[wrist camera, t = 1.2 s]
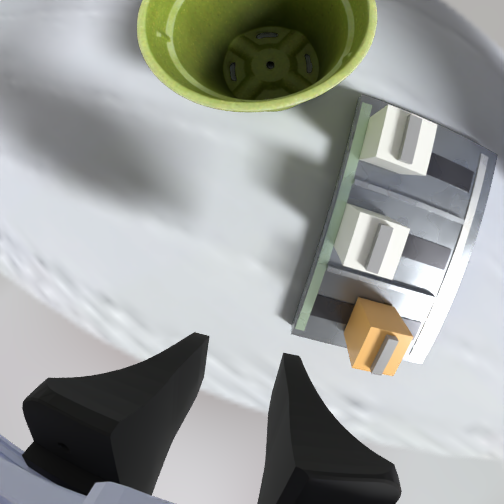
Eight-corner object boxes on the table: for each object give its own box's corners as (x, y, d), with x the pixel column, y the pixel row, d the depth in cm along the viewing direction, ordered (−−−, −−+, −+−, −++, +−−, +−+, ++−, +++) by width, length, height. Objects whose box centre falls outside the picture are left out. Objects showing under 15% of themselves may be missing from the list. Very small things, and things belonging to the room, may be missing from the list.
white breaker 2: (387, 216, 17) (413, 230, 13) (374, 258, 18) (395, 283, 14) (346, 202, 18) (362, 213, 13) (333, 245, 18) (344, 268, 14)
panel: (488, 154, 16) (502, 154, 15) (416, 355, 21) (424, 368, 19) (358, 98, 17) (364, 91, 15) (291, 325, 21) (290, 338, 20)
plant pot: (191, 21, 17) (136, -44, 9) (330, 1, 16) (344, -79, 7) (206, 147, 19) (143, 134, 11) (357, 129, 18) (401, 100, 9)
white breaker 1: (410, 132, 16) (441, 123, 12) (400, 174, 17) (429, 176, 12) (369, 117, 16) (391, 102, 12) (359, 159, 17) (378, 156, 13)
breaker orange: (394, 306, 19) (416, 341, 14) (378, 341, 19) (395, 381, 15) (358, 296, 19) (373, 331, 15) (343, 332, 20) (353, 373, 15)
